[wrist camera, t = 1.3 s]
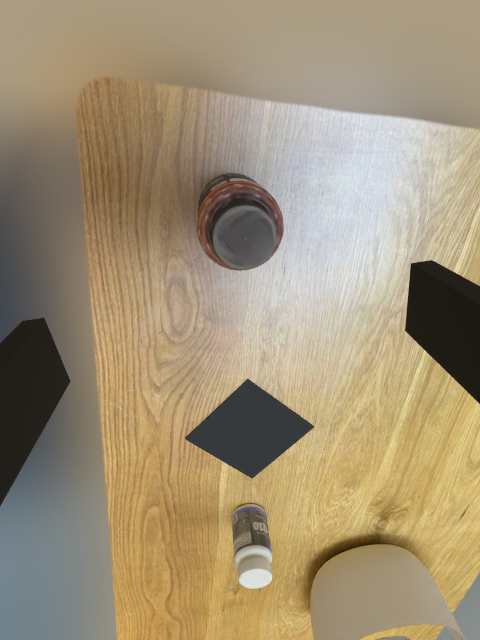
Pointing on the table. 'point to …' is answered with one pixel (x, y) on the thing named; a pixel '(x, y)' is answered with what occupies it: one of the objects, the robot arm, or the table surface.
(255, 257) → the supplement bottle
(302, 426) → the mat
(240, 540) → the pill bottle
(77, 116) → the table surface
